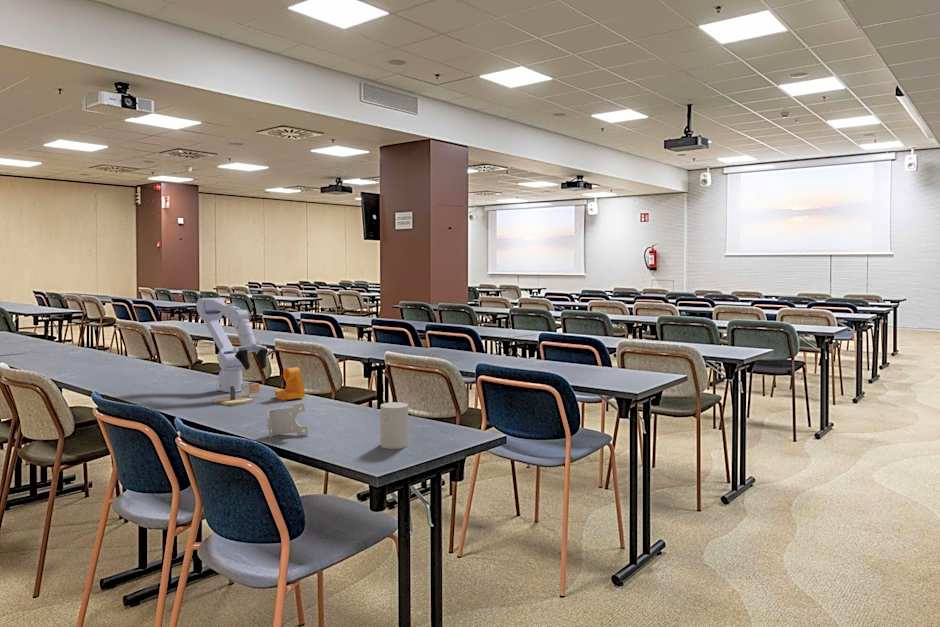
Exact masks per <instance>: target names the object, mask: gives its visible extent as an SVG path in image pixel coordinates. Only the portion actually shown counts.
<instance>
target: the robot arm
mask: <svg viewBox="0 0 940 627" xmlns="http://www.w3.org/2000/svg"><path fill="white" fill-rule="evenodd" d="M196 311H197V314H198V315H199V317H200V319H201V320H202V321H203V322H204V324H205V326H206V328H207V330H208V333H210V336H211V338H212V340H214V343H215V345H216V347H217V348H218V350H219V351H218V353H217V355H216V356H217V357H216V358H217V361H218V366H219V368H220V369H221V370H219V373H218V388H217V389H216V390H217V391H220V392H223V393H229V394H230V386H235V393H238V392H241V384H243V370H245V371H248V370H249V369H250V368H251V365H250V362H249V357H248V353H256V355H255V357H256V359H257V360H258V363H259V365H260V369H261V370H264V369H266V368H267V360H266V359H267V353H268V348H267V346H266V345H261V344H258V343H257V342H256V338H255V335H254V331H253V328H252V326H251V319H252V318H251V317H252V315H251V312H250V311H249V309H247V308H246V309H241V307H239V306H235V303H228V304H227V303H226V302H225V301H224V298H222V297H207V298H206V297H205V298H204V297H200V298H198V299H197V301H196ZM223 316H224V317H225V318H226V319H228V320H230V324H231V325H232V326H233V327H234V330H236V333H237V336H238V339H239V343H240V346H233V344H232V342H231V341H230V339H229V337H228V335H227V334H226V332H225V331H224V328H223V327H222V325H221V323H220V320H221V319H222V318H223Z"/></svg>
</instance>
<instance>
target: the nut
mask: <svg viewBox="0 0 940 627" xmlns="http://www.w3.org/2000/svg"><path fill="white" fill-rule="evenodd" d="M240 397H245V398H250V399H252V398H256V397H260V383H258V382H253V381H252V382H251V381H250V382H245V383H242V384H241V391H240Z"/></svg>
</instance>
